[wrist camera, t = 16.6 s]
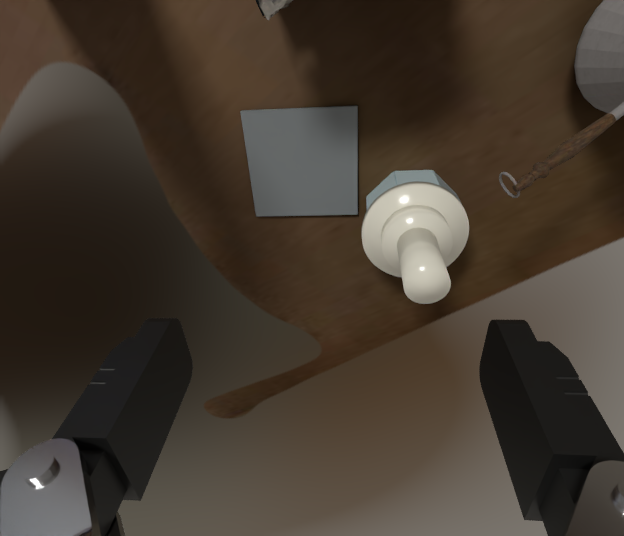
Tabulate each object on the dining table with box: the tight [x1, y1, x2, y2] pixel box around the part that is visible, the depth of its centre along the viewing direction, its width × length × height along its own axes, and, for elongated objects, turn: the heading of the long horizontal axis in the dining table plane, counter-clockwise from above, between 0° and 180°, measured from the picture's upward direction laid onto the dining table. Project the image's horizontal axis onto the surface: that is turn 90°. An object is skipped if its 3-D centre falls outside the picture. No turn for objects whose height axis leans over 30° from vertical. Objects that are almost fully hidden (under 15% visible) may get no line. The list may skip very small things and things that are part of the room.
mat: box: [240, 105, 358, 216], centre depth 46 cm, size 12×12×1 cm
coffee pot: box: [499, 0, 624, 198], centre depth 33 cm, size 21×12×15 cm, turn 123°
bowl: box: [366, 170, 461, 212], centre depth 46 cm, size 10×10×4 cm
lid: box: [362, 181, 469, 304], centre depth 40 cm, size 11×11×10 cm
